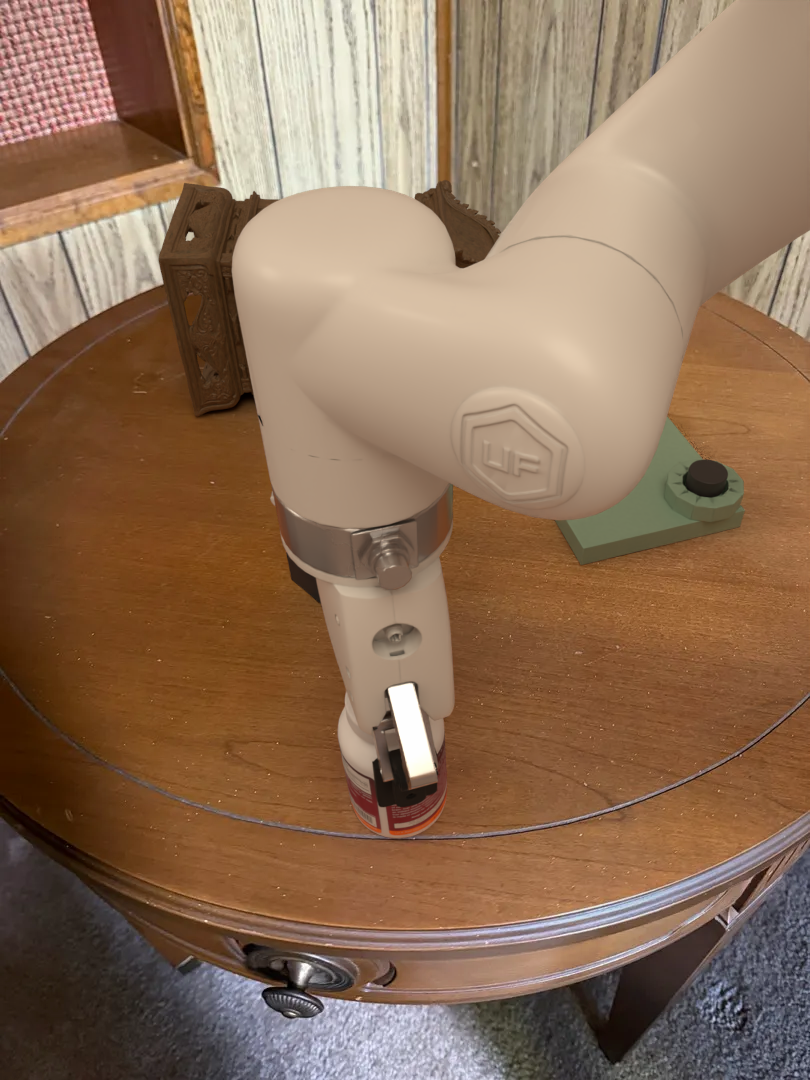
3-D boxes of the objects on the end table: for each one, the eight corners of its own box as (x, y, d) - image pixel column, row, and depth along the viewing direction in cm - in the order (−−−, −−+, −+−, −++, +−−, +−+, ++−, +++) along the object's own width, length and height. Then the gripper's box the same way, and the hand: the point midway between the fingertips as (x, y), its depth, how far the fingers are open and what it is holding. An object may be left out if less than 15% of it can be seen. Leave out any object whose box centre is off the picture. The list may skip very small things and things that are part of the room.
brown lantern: (527, 337, 96) (539, 164, 84) (552, 415, 82) (571, 219, 70) (216, 348, 95) (187, 175, 84) (188, 427, 81) (148, 232, 70)
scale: (748, 529, 69) (758, 497, 67) (583, 569, 67) (587, 538, 65) (654, 414, 81) (660, 383, 78) (510, 444, 78) (512, 414, 76)
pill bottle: (454, 759, 56) (452, 658, 48) (439, 849, 51) (435, 754, 44) (362, 746, 57) (346, 645, 49) (340, 833, 53) (318, 737, 45)
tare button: (731, 493, 68) (735, 479, 67) (697, 501, 67) (700, 487, 66) (711, 470, 70) (715, 455, 69) (678, 478, 69) (682, 463, 68)
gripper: (520, 633, 31) (498, 843, 43) (397, 371, 42) (407, 594, 55) (317, 682, 29) (353, 884, 42) (248, 398, 41) (292, 621, 53)
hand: (384, 719), depth 48 cm, fingers open, 9 cm apart
